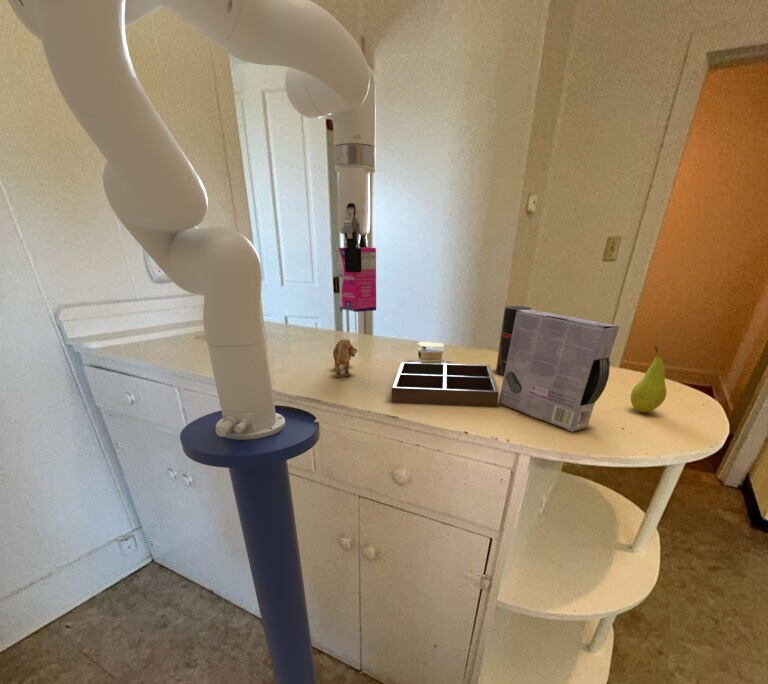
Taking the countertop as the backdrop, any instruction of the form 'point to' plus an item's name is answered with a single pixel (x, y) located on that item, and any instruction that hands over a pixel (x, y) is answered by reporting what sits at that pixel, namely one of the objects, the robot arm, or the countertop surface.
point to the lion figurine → (343, 355)
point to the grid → (445, 384)
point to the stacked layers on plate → (430, 353)
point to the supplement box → (358, 282)
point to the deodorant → (507, 336)
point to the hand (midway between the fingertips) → (357, 270)
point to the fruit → (650, 387)
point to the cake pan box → (557, 367)
